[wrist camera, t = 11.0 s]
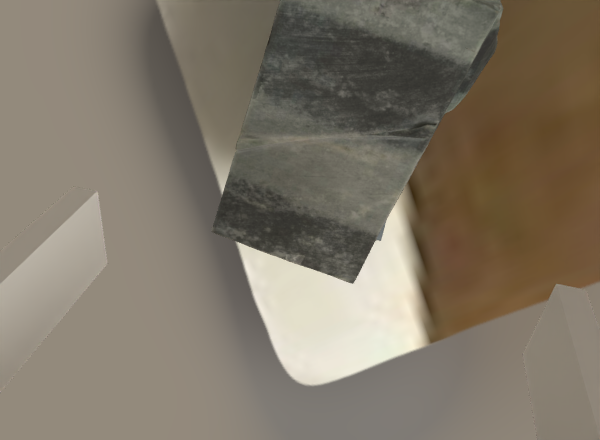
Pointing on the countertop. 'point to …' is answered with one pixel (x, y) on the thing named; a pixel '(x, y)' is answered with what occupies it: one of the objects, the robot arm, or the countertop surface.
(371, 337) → the countertop surface
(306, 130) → the stone block
